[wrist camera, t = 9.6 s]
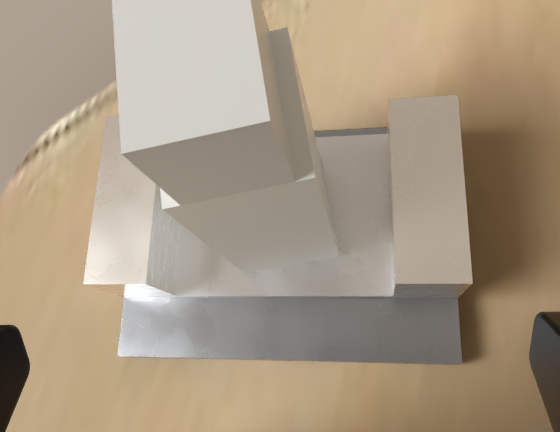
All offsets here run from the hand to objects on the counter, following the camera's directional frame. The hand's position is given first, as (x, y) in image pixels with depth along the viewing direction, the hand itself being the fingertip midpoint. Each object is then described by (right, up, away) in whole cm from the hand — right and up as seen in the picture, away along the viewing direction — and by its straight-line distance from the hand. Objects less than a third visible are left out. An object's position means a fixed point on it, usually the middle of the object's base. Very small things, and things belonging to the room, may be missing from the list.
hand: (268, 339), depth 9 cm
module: (0, +2, +13) cm, 13 cm away
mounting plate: (0, +1, +14) cm, 14 cm away
